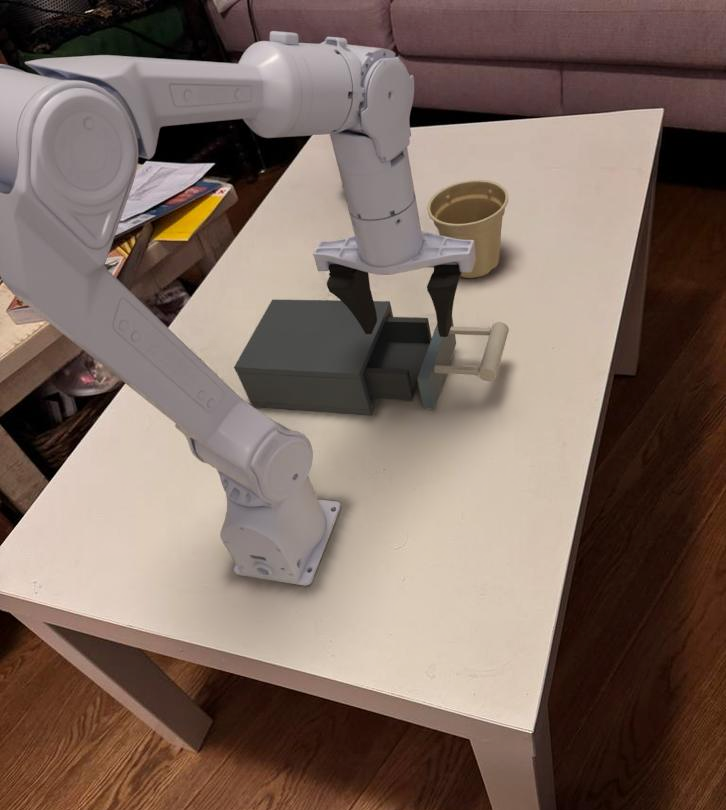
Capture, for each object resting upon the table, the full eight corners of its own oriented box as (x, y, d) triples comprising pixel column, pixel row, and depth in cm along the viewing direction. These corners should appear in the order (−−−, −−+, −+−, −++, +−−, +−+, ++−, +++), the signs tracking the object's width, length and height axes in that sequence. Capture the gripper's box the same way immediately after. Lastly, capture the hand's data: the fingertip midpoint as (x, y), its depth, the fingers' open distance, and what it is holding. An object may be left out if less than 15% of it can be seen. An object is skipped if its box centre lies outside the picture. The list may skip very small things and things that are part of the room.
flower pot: (527, 267, 91) (523, 202, 84) (457, 297, 90) (448, 234, 83) (490, 233, 97) (484, 170, 90) (425, 261, 96) (414, 200, 89)
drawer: (513, 345, 81) (511, 311, 78) (495, 413, 75) (491, 380, 72) (344, 339, 88) (335, 308, 84) (316, 401, 82) (305, 371, 79)
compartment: (399, 343, 87) (390, 301, 82) (371, 415, 80) (359, 373, 76) (287, 339, 92) (272, 299, 87) (251, 406, 85) (233, 367, 81)
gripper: (476, 172, 62) (489, 304, 72) (318, 178, 67) (351, 301, 77) (457, 220, 58) (474, 353, 68) (291, 223, 63) (329, 346, 73)
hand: (407, 328), depth 73 cm, fingers open, 7 cm apart
